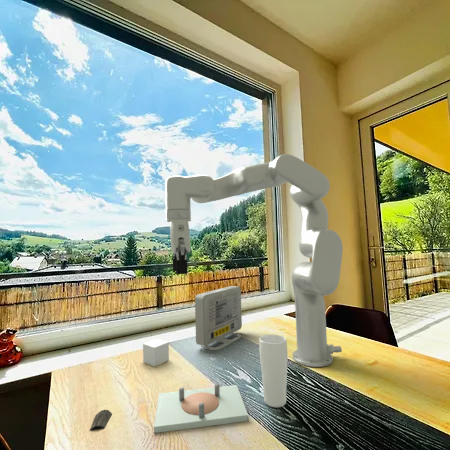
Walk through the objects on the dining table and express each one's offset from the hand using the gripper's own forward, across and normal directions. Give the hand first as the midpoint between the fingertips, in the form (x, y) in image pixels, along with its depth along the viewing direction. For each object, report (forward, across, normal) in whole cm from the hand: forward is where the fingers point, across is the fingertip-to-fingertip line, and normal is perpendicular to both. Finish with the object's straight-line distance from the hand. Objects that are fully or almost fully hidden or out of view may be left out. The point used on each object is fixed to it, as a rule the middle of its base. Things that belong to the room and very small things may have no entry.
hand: (179, 272), depth 84 cm
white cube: (+31, +13, +7) cm, 34 cm away
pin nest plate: (+30, -18, -2) cm, 35 cm away
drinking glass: (+31, -22, -20) cm, 42 cm away
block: (+31, -15, +20) cm, 40 cm away
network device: (+31, +24, -19) cm, 43 cm away
